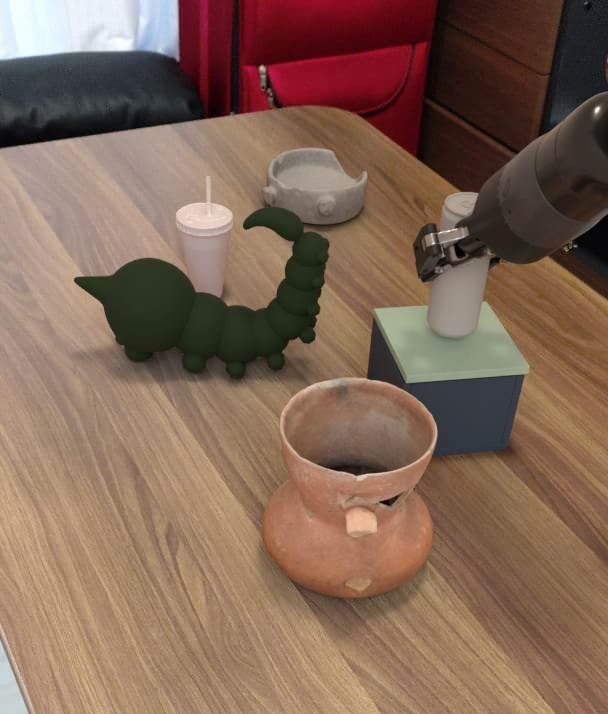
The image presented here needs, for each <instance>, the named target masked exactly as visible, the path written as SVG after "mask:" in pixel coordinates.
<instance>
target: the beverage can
mask: <svg viewBox="0 0 608 714" xmlns="http://www.w3.org/2000/svg"><path fill="white" fill-rule="evenodd" d="M478 194H479V192H474V191H460V192H455V193H452V194H450V195H447V196H446V198H445V199H444V204H443V205H442V207H441V215H440V221H439V226H438V227H439V228H440V232H442V231H445V229H446V228H448V227H450V226H451V225H453V224H455V223H457V222H458V221H460V220H461V219H463V218H466V217H467V215H468V213H470V212H471V211H473V209H474V206H475V203H476V199H477V196H478ZM444 250H445V255H446V260H448V258H449V252H448V248H445V249H444ZM465 254H466V253H465ZM466 256H468V254H466ZM489 262H490V259H482V260H480V261H478V262H476V263H474V264H472V265H470V266H467V267H465V268H453V267H452V268H450V269H448V270H446V271H445V272H443V273H442V274H440V275H439V276H438V277H436V278H435V279H434V280H432V281H431V284H430V290H429V298H428V304H427V305H428V312H427V322H428V324H429V326H430V328H431V329H432V330H433V331H434V332H436V333H437V334H439V335H441V336H444V337H448V338H461V337H465V336H467V335H469V334H470V333H472V332H473V331H474V330H475V329H476V328H477V326H478V321H479V316H480V311H481V305H482V302H483V299H484V295H485V289H486V283H487V278H488V273H489V270H488V268H489Z"/></svg>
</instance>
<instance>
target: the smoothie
mask: <svg viewBox="0 0 608 714" xmlns="http://www.w3.org/2000/svg"><path fill="white" fill-rule="evenodd" d="M233 217H234V216H233V212H232V211H231V209H229V208H227V207H226V206H224V205H221V204H218V203H215V202H212V177H211V175H206V176H205V202H194V203H189V204H186V205H184V206H182V207H180V208H179V209H178V210H177V211H176V213H175V226H176V228H177V229H178V231H179V235H180V241H181V246H182V252H183V253H182V254H183V258H184V263H185V269H186V276H187V277H188V278H189V279H190V281H191V283H192V284H193V286H194V289H195V291H196V292H206V293H210V294H213V295H215V296H217V297H219V298H220V299H221V297H222V295H223V291H224V282H225V275H226V265H227V256H228V248H229V240H230V232H231V231H230V230H231V229H232V228H233V226H234V220H233V219H234V218H233Z"/></svg>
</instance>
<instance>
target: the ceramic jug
mask: <svg viewBox="0 0 608 714" xmlns="http://www.w3.org/2000/svg"><path fill="white" fill-rule="evenodd" d="M278 433H279V434H278V435H279V441H280V446H281V451H282V455H283V458H284V462H285V465H286V468H287V470H288V474H289V476H290V478H288V479H287V480H285V482H283V483H281V485H280V486H279V487H278V488H277V489H276V490H275V491H274V493H273V494H272V495H271V497H270V499H269V500H268V502H267V504H266V506H265V509H264V512H263V515H262V522H261V532H262V539H263V543H264V546H265V549H266V550H267V553H268V554H269V556H270V558H271V559H272V560H273V562H274V563H275V564H276V565H277V566H278V567H279V568H280V570H281V571H282V573H283V574H284V575H285V576H286V577H287V578H289V579H290V580H291V581H293V582H294V583H296V584H298V585H299V586H302V587H303V588H305V589H307V590H309V591H312V592H315V593H317V594H320V595H324V596H328V597H333V598H338V599H339V598H340V599H365V598H372V597H375V596H380V595H383V594H385V593H389V592H391V591H393V590H395V589H397V588H399V587H400V586H403V585H404V584H406V583H408V581H410V580H411V579H412V578H413V577H414V576H415V575H416V574H417V573H419V571H420V570H421V568H423V567H424V565H425V563H426V561H427V560H428V558H429V556H430V554H431V551H432V549H433V545H434V540H435V539H434V538H435V531H434V530H435V529H434V524H433V519H432V516H431V513H430V511H429V508H428V507H427V505H426V503H425V501H424V500H423V499H422V497H421V496H420V495H419V494H418V493H417V492H416V491H415V490H414V488H415V487H416V486H417V484H418V482H419V481H420V480H421V478H422V476H423V474H424V473H425V471H426V469H427V467H428V465H429V463H430V462H431V459H432V457H433V456H432V454H433V451H434V448H435V445H436V441H437V426H436V423H435V421H434V418H433V416H432V415H431V413H430V412H429V411H428V410H427V408H426V407H425V406H424V405H423V404H422V403H421V402H420V401H418V400H417V399H416V398H415V397H414V396H412V395H411V394H409V393H407V392H406V391H404V390H403V389H400V388H398V387H396V386H394V385H392V384H389V383H386V382H382V381H377V380H369V379H367V377H366V378H365V377H353V376H351V377H350V376H349V377H348V376H347V377H338V378H334V379H328V380H324V381H319V382H315V383H313V384H311V385H308V386H306V387H305V388H303V389H301V390H299V392H297V393H295V394H294V395H293V396H292V398H290V399H289V400H288V402H287V403H286V404H285V406H284V407H283V409H282V411H281V414H280V418H279V423H278Z"/></svg>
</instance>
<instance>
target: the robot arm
mask: <svg viewBox="0 0 608 714" xmlns="http://www.w3.org/2000/svg"><path fill="white" fill-rule="evenodd" d="M604 65H605V67H604V76H605V80H606V83H607V84H608V54H607V56H606V58H605V63H604ZM478 193H479V194H478V196H477V199H476V203H475V206H474V209H473V211H471V212H470V213H468V215H467V217H466V218H463V219H461V220H460V221H458V222H457V223H455V224H453V225H451V226H450V227H448V228H446V229H445V231H442V232H440V228H439V227H440V226H437V223H431V222H429V223H426V224H424V225H423V226H422V227H421V228H420V229H419V232H418V234H417V236H416V237H415V239H414V241H413V243H412V250H413V253H414V258H415V261H414V264H415V269H416V274H417V277H418V279H419V280H420V281H421V282H422V283H423V284H424V283H430V282H431V283H432V280H434V279H435V278H436V277H438V276H439V275H440V274H442V273H443V272H445V271H446V270H448V269H450V268H452V267H453V268H465V267H467V266H470V265H472V264H474V263H476V262H478V261H480V260H482V259H490V262H489V268H488V271H489V270H491V269H492V268H494V267H496V266H497V265H498V264H500V263H503V264H507V263H510V264H514V265H515V264H516V265H531V264H534V263H537V262H539V261H541V260H543V259H545V258H546V257H548V256H550V255H551V254H553V253H554V252H556V251H558V250H559V249H561V248H562V247H564V246H566V245H567V244H568V243H571V242H572V241H574V240H576V239H577V238H578V237H580V236H582V235H583V234H585V233H586V232H589V230H591V229H592V228H593V227H595V226H596V225H597V224H598V223H599V222H601V220H602V219H603V218H604V217H606V216H607V215H608V91H604V92H600V93H597V94H595V95H593V96H591V97H590V98H588V99H587V100H585V101H584V102H583V103H581V104H580V105H579V106H578V107H576V108H575V109H573V110H572V111H571V112H570V113H569V114H568V115H567V116H566V117H564V118H563V119H562V120H561V121H560V122H559V123H557V124H556V125H555V126H554V127H553V128H552V129H551V130H549V131H547V132H546V133H544V134H542V135H540V136H539V137H537V138H536V139H534V140H532V141H531V142H530V143H529V144H528V145H527V146H525V147H524V148H523V149H521V150H520V151H519V152H518V153H517V154H516V155H515V156H513V157H512V158H511V159H510V160H508V161H507V163H505V164H504V165H503V166H502V167H500V169H498V170H497V171H496V172H495V173H494V174H492V176H490V177H489V178H488V179H487V180H486V181H485V183H483V185H482V186H481V188H480V189H479V192H478ZM445 248H448V252H449V258H448V260H446V255H445V250H444V249H445ZM465 253H466V254H468V256H466V254H465Z"/></svg>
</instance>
